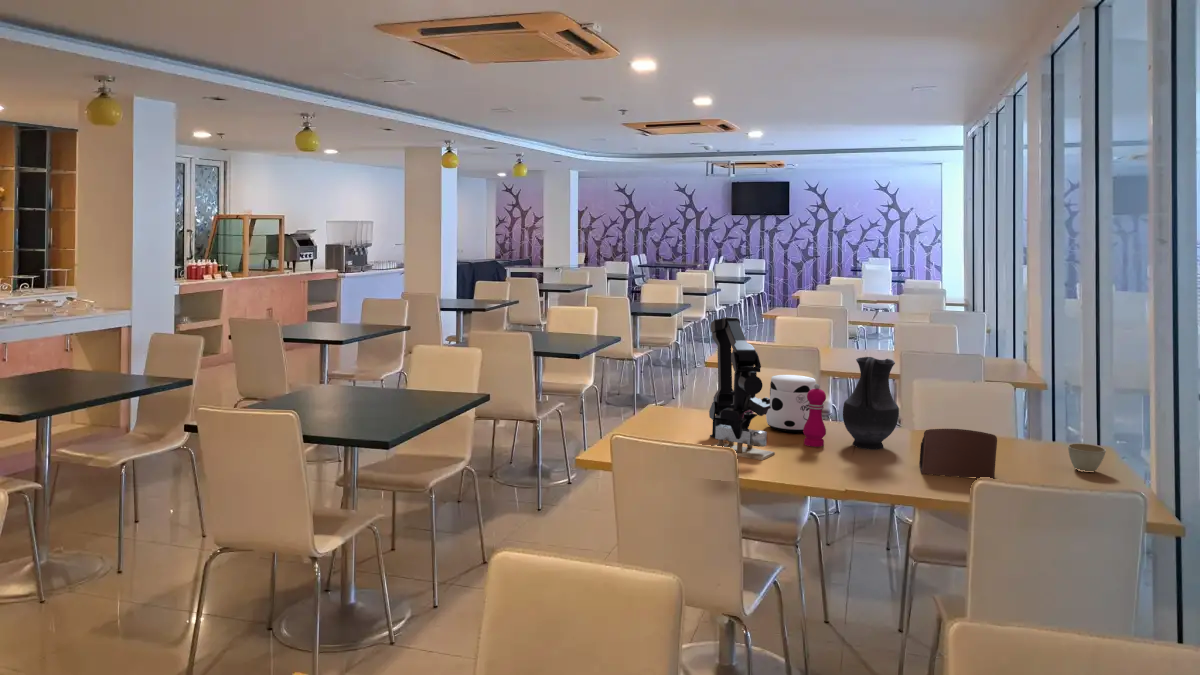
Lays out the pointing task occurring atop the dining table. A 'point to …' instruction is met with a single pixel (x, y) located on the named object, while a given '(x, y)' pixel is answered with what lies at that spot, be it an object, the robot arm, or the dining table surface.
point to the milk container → (789, 402)
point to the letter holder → (958, 453)
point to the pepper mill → (815, 418)
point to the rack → (746, 450)
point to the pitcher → (871, 405)
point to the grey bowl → (1086, 456)
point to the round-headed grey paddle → (742, 436)
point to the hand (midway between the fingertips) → (740, 437)
